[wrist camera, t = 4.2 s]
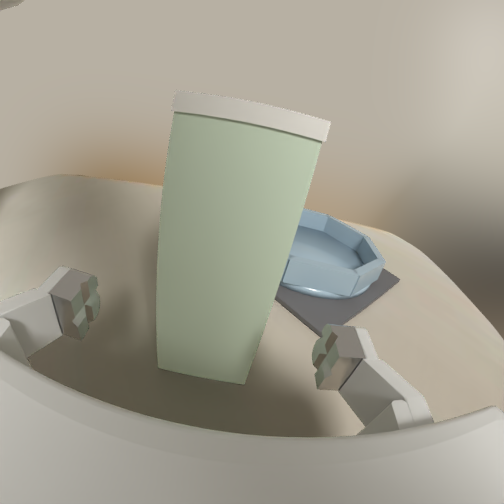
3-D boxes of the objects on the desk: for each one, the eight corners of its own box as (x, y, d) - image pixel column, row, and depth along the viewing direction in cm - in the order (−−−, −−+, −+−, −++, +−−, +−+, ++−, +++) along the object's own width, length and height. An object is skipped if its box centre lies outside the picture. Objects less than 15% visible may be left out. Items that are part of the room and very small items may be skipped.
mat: (196, 230, 33) (196, 228, 33) (295, 218, 45) (296, 216, 45) (322, 338, 21) (324, 335, 21) (398, 281, 33) (400, 279, 33)
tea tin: (156, 368, 15) (175, 90, 8) (175, 311, 20) (204, 99, 13) (245, 386, 16) (331, 122, 9) (247, 326, 21) (304, 120, 14)
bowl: (208, 232, 33) (212, 207, 31) (299, 220, 44) (304, 201, 42) (318, 321, 22) (332, 291, 21) (389, 275, 33) (399, 255, 32)
